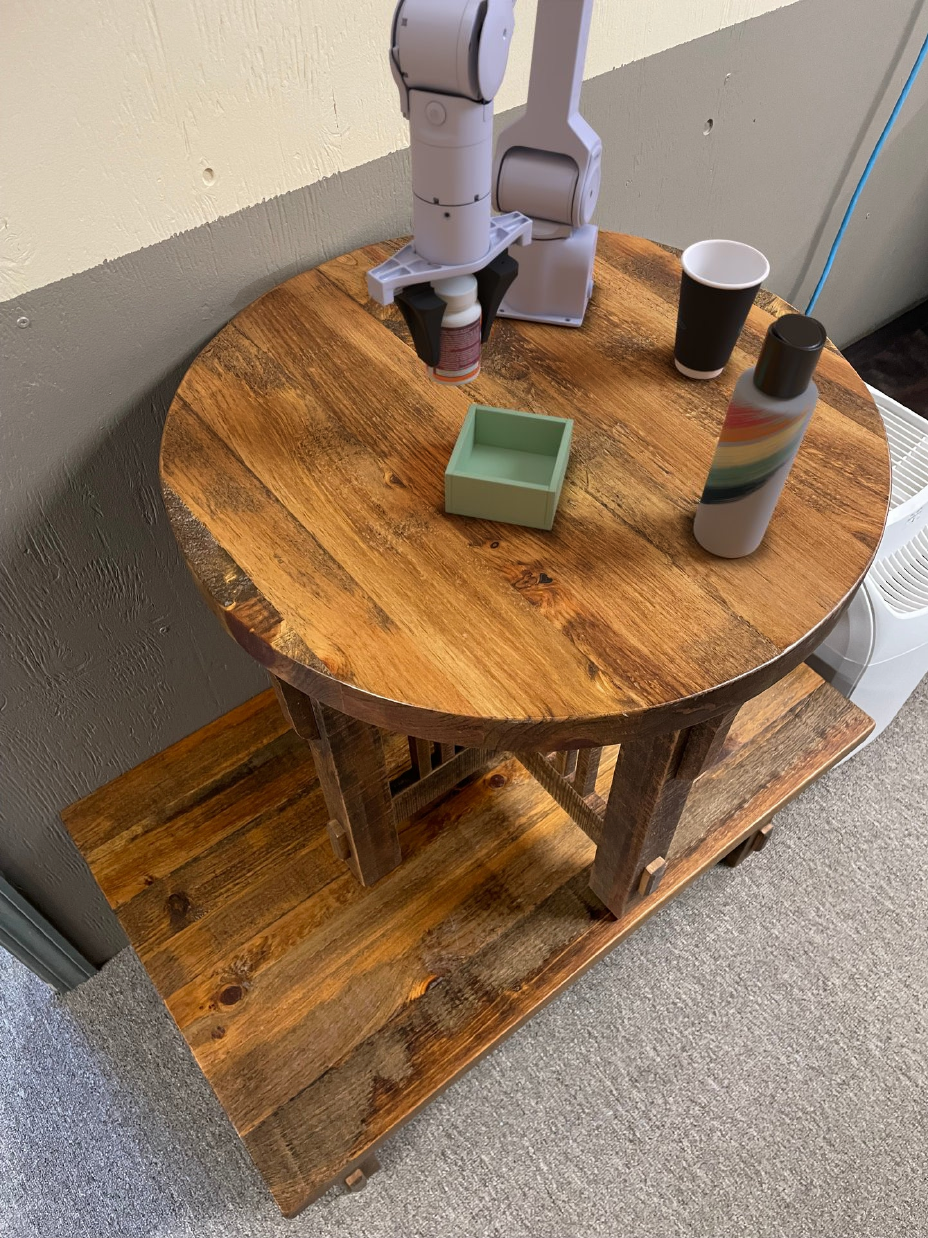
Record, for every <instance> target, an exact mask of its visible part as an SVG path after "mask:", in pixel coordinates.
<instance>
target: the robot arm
mask: <svg viewBox="0 0 928 1238" xmlns="http://www.w3.org/2000/svg"><path fill="white" fill-rule="evenodd" d="M516 4H517V0H398V1H397V3H396V5H395V8H394V11H393V16H392V21H391V28H390V41H389V42H390V43H389V44H390V45H389V50H388V60H389V66H390V72H391V75H392V78H393V81H394V83H395V85H396V86H397V89H398V93H399V105H400V106H399V107H400V113H402V117H403V118H404V119H405V120H407V121H408V123H409V124H408V125H409V126H408V127H409V144H410V145H409V146H410V147H409V149H410V169H411V171H410V173H411V189H412V192H411V193H412V208H413V210H412V211H413V212H412V213H413V228H412V237H413V239H412V240H410V241H409V242H408V243H406V244H405V245H404V246H402V247H401V248H400V249H399V250H398V251H396V252H395V253H394V254H392V256H390V257H389V258H388V259H386V260H385V261H384V262H382V263H381V264H379V265H377V266H376V267H373V268H371V269H370V270H367V271H366V273H365V274H366V282H367V293H368V296H369V297H371V298H372V299H373V300H374V301H375V302H376V303H377V304H380V305H381V306H382V307H385V306H387V305H390V304H392V303H394V304H395V305H396V307H397V308H398V310H399V312H400V314H401V316H402V317H403V319H404V322H405V324H406V326H407V328H408V331H409V333H410V336H411V339H412V342H413V345H414V349H415V351H416V356H417V358H418V359H419V360H420V361H421V362H423V363H424V364H425V363H426V364H427V365H428V366H429V367H431V368H433V367H435V366H437V365H438V363H439V358H440V330H441V324H442V319H443V315H444V312H445V309H446V307H447V305H448V303H446V302H445V301H444V300H442V299H441V298H440V297H438V296H437V295H436V294H435V289H434V287H431V282H430V281H434V280H439V279H445V278H451V277H456V276H462V275H467V274H473V275H474V276H475V278H476V280H477V293H478V294H477V299H478V300H479V302H480V305H481V345H483V344H485V343H487V342H488V341H489V339H490V333H491V331H492V328H493V326H494V325H493V324H494V322H495V319H496V317H501V318H502V317H503V318H508V319H509V318H510V319H516V320H523V321H530V322H538V323H545V324H552V325H558V326H564V327H565V326H566V327H571V328H580V327H581V326H582V324H583V321H584V316H585V314H586V310H587V305H588V302H589V299H592V295H593V290H594V289H593V288H594V282H595V281H594V280H593V275H594V268H595V267H594V266H595V260H596V252H597V244H598V236H599V226H598V225H595V224H592V223H589V222H590V220H591V219H592V216H593V214H594V211H595V208H596V205H597V201H598V197H599V192H600V188H601V177H602V168H601V163H602V153H603V146H602V143H603V141H602V139H601V137H600V136H599V135H598V134H597V132H596V131H595V130H594V129H593V128H592V127H591V125H589V123H588V122H587V121H586V120H585V119H584V118H583V116H582V115H581V114H580V112H579V106H580V99H581V92H582V87H583V86H582V85H583V79H584V71H585V65H586V58H587V50H588V44H589V36H590V29H591V24H592V23H591V22H592V16H593V8H594V0H537V6H536V14H535V22H534V23H535V24H534V33H533V41H532V49H531V51H532V52H531V61H530V68H529V78H528V79H529V80H528V89H527V98H526V105H525V107H526V109H525V110H524V111H523V112H521V113H520V114H518V115H516V116H515V117H513V118H512V119H510V120H509V121H507V123H505V125H503V127H502V128H501V129H500V131H499V132H498V135H497V137H496V144H495V150H494V156H493V139H494V138H493V133H494V107H495V106H494V104H495V102H494V100H495V97H496V96H497V94H498V92H499V90H500V88H501V86H502V84H503V81H504V78H505V75H506V70H507V66H508V65H507V64H508V60H509V54H510V46H511V41H512V37H513V35H514V29H515V25H516V22H515V21H516V20H515V12H514V9H515V6H516ZM492 209H493V211H494V212H496V213H500V214H499V215H498V216H491V215H492Z"/></svg>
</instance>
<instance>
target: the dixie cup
mask: <svg viewBox="0 0 928 1238" xmlns="http://www.w3.org/2000/svg"><path fill="white" fill-rule="evenodd" d="M680 265H681V278H680V289H679V298H678V309H677V315H676V316H677V317H676V328H675V338H674V346H673V357H674V365H675V367H676V369H677V370H678V371H679V372H680V373H681V374H683V375H685V376H686V377H689V378H693V379H698V380H707V379H712V378H713V379H714V378H716V377H717V376H719V375H720V374H721V373H722V371H723V369H724V368H725V367H726V366H727V365H728V363H729V361H730V358H731V356H732V355H733V352H734V349H735V347H736V344H737V342H738V340H739V337H740V335H741V332H742V330H743V328H744V326H745V323H746V321H747V319H748V316H749V314H750V312H751V309H752V307H753V304H754V302H755V300H756V297H757V295H758V292H759V290H760V288H761V286H762V283H763V282H764V281H765V280H766V279H767V278H768V276H769V274H770V268H771V267H770V262H769V261H768V259H767V258H766V256H765V255H764V254H763V253H762V252H761V251H759V250H758V249H756V248H755V247H752V246H750V245H748V244H746V243H743V242H740V241H735V240H730V239H706V240H702V241H701V240H700V241H698V242H695V243H693V244H691V245H689V246H687V248H685V250H683V252H682V253H681V255H680Z"/></svg>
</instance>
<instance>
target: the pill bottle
mask: <svg viewBox="0 0 928 1238" xmlns="http://www.w3.org/2000/svg"><path fill="white" fill-rule="evenodd" d="M430 282H431V287H434V289H435V294H436V295H437V296H438V297H440V298H441V299H442V300H444V301H445V302H446V303H448V305H447V307H446V309H445V312H444V315H443V319H442V324H441V330H440V358H439V363H438V365H437V366H435V367H433V368H431V367H429V366H428V365H427V364H426V363H424V364H425V372H426V375H427V376H428V377H429V379H431V380H432V381H433V382H435V383H436V384H438V385H442V386H445V387H456V386H463V385H466V384H469V383H471V382H473V381H474V380H475V379H476V378H477V377H478V375H479V374H480V371H481V353H482V349H481V348H482V344H481V305H480V302H479V300H478V299H477V294H478V293H477V280H476V278H475V276H474V275H473V274H467V275H462V276H456V277H451V278H445V279H439V280H434V281H430Z"/></svg>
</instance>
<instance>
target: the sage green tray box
mask: <svg viewBox="0 0 928 1238" xmlns="http://www.w3.org/2000/svg"><path fill="white" fill-rule="evenodd" d="M574 422H575V421H574V419H571V418H563V417H559V416H552V415H545V414H541V413H540V414H539V413H532V412H526V411H520V410H514V409H507V408H501V407H494V406H488V405H482V404H475V403H470V404H469V407H468V409H467V412H466V414H465V417H464V420H463V422H462V426H461V428H460V430H459V433H458V436H457V439H456V441H455V444H454V447H453V450H452V452H451V455H450V458H449V459H448V460H449V461H448V463H447V466H446V468H445V472H444V507H445V508H444V509H445V511H444V512H445V513H449V514H454V515H459V516H460V515H461V516H466V517H470V518H477V519H483V520H488V521H495V522H498V523H499V522H500V523H506V524H510V525H511V524H512V525H516V526H522V527H528V528H534V529H540V530H544V531H545V530H546V531H552V527H553V525H554V519H555V515H556V511H557V508H558V504H559V501H560V497H561V492H562V489H563V484H564V479H565V475H566V473H567V467H568V464H569V459H570V453H571V445H572V436H573V428H574Z"/></svg>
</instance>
